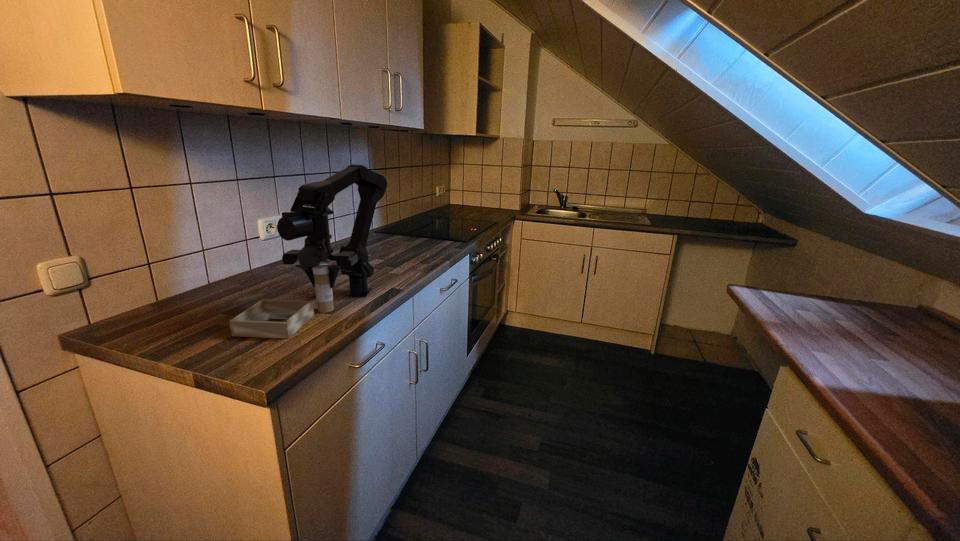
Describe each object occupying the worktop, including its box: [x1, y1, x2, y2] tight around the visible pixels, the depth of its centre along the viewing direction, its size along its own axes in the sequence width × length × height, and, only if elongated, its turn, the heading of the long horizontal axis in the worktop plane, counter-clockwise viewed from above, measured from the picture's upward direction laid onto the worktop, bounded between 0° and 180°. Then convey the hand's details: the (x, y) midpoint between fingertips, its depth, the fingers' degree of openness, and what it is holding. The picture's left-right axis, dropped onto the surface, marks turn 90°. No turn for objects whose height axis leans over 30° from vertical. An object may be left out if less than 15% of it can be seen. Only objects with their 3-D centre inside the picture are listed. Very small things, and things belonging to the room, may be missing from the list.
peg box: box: [228, 298, 315, 339], centre depth 97 cm, size 14×14×4 cm
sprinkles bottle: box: [312, 263, 335, 314], centre depth 105 cm, size 5×5×14 cm
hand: (323, 287), depth 105 cm, fingers closed on sprinkles bottle, 4 cm apart
